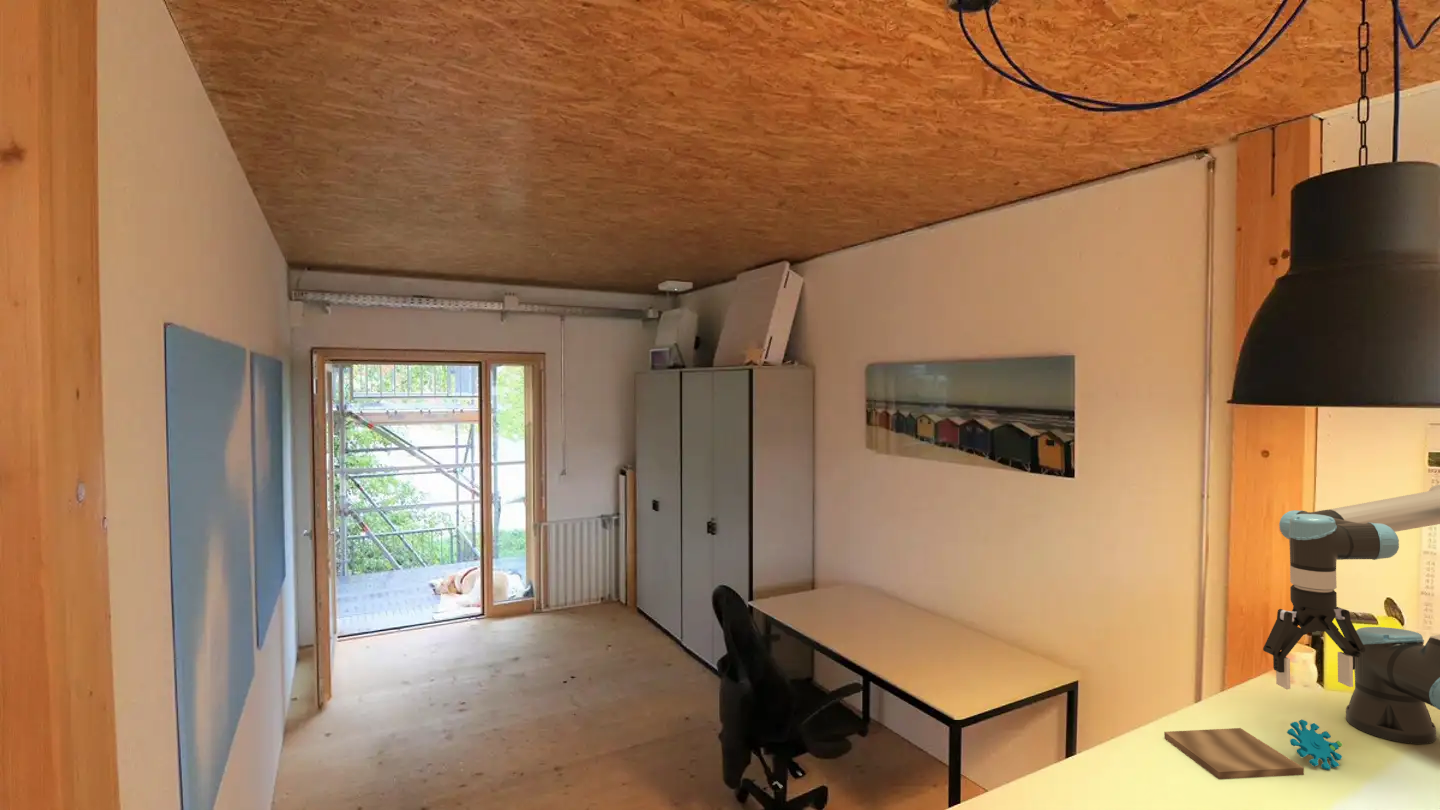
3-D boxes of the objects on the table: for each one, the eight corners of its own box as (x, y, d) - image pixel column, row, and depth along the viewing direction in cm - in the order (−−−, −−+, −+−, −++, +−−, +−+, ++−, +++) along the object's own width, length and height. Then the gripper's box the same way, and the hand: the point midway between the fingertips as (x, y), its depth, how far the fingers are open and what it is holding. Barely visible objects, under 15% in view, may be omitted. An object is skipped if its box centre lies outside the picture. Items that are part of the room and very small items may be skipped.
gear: (1306, 765, 144) (1282, 716, 151) (1287, 774, 148) (1265, 726, 155) (1359, 770, 144) (1332, 721, 151) (1338, 779, 148) (1314, 730, 155)
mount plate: (1240, 734, 160) (1240, 728, 160) (1303, 774, 143) (1303, 767, 143) (1164, 738, 160) (1164, 731, 160) (1218, 779, 143) (1218, 772, 143)
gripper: (1353, 580, 151) (1354, 676, 151) (1242, 584, 151) (1243, 680, 151) (1387, 590, 144) (1388, 690, 144) (1270, 594, 143) (1271, 695, 144)
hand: (1314, 685), depth 147 cm, fingers open, 13 cm apart
